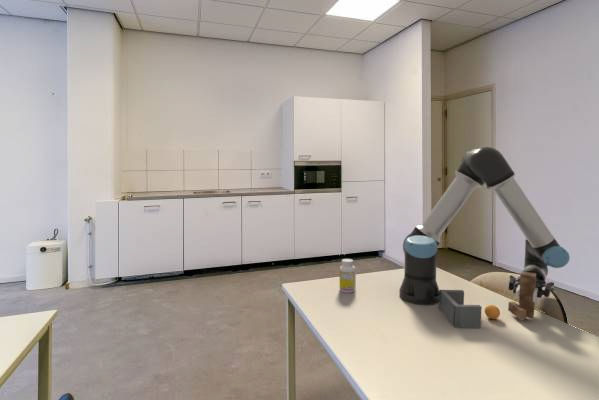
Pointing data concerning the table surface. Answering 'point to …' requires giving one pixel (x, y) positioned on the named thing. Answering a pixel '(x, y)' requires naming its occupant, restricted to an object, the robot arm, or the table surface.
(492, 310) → the ball
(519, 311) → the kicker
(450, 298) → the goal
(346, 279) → the supplement bottle
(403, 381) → the table surface
